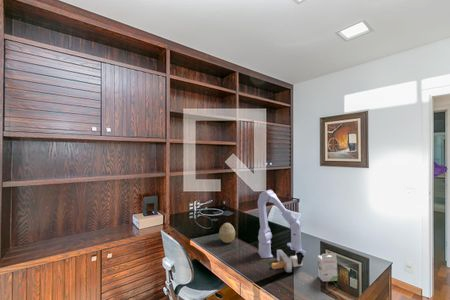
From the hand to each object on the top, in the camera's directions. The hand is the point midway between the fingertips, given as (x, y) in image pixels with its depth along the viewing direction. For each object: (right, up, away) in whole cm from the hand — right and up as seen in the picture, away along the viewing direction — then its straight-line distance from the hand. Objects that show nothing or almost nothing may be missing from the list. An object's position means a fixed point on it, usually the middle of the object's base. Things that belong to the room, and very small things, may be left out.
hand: (296, 262), depth 130 cm
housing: (-8, -2, -1) cm, 8 cm away
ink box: (+12, -1, -15) cm, 19 cm away
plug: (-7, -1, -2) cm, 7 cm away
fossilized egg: (-43, -3, +35) cm, 55 cm away
